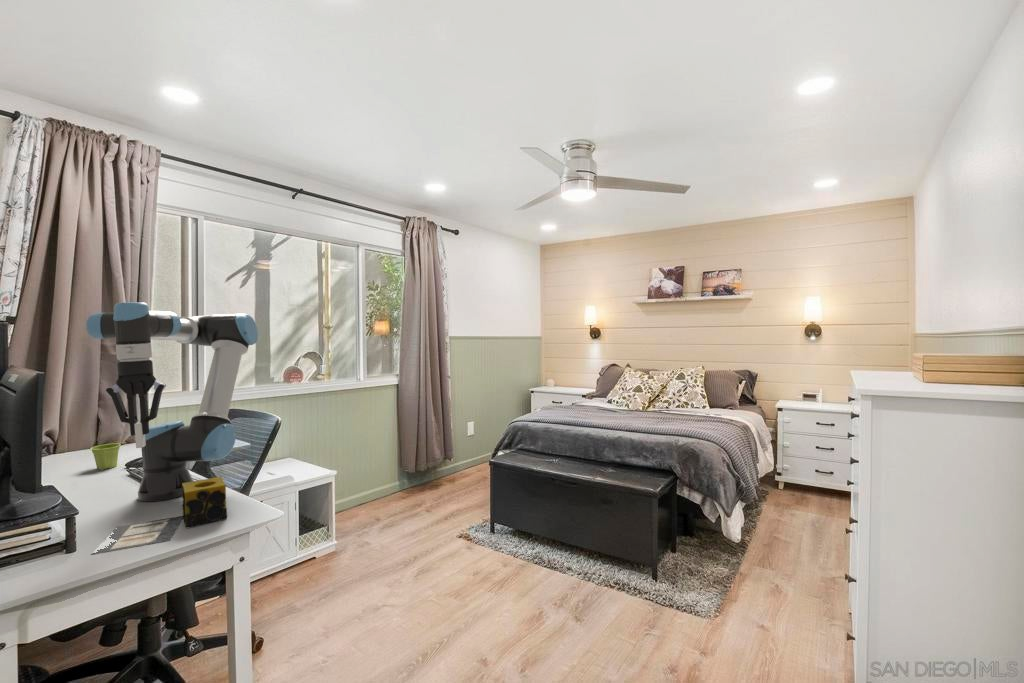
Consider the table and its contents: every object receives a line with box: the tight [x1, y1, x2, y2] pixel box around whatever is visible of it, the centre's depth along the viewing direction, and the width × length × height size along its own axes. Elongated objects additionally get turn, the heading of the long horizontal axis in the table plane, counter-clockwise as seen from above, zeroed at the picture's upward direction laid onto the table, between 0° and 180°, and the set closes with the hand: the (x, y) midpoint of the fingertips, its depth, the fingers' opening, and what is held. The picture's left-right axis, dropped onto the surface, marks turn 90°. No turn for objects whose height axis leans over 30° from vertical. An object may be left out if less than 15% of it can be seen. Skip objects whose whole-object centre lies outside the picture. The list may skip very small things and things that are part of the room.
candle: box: [181, 476, 228, 529], centre depth 137 cm, size 10×10×10 cm
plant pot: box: [90, 442, 121, 471], centre depth 195 cm, size 9×9×9 cm
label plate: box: [96, 515, 184, 554], centre depth 129 cm, size 18×16×1 cm
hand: (141, 446), depth 132 cm, fingers closed
